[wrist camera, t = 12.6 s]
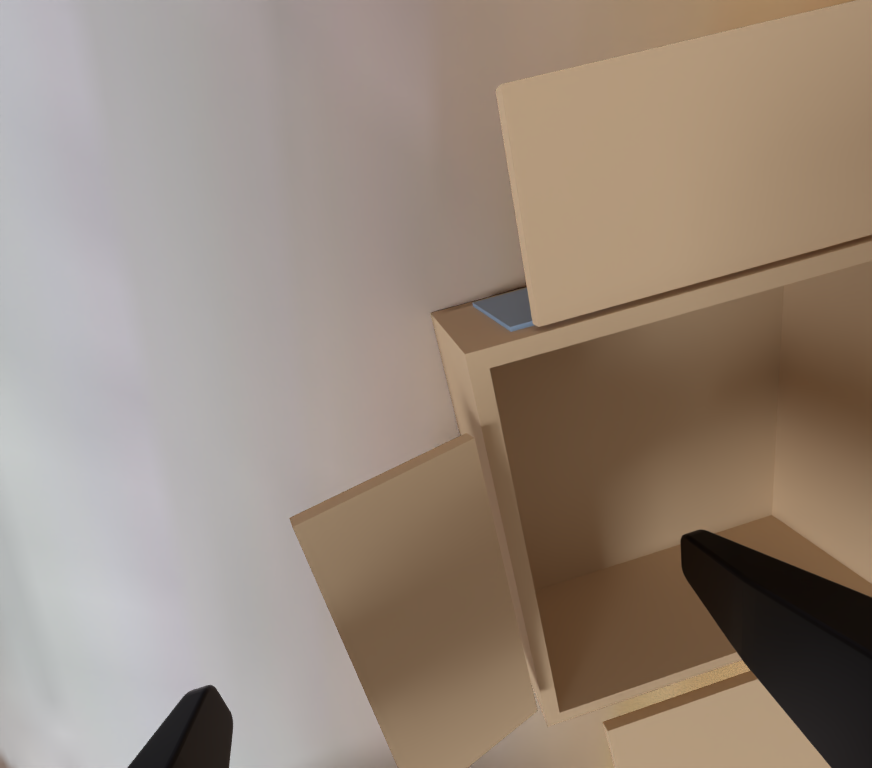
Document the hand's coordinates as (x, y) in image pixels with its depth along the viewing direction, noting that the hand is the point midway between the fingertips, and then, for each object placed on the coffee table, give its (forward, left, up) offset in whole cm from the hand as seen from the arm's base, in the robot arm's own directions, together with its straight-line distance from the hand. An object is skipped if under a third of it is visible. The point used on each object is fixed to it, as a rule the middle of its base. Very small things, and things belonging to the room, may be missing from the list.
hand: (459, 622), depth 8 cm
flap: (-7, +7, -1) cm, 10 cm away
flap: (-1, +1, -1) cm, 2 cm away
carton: (-9, -1, -6) cm, 11 cm away
